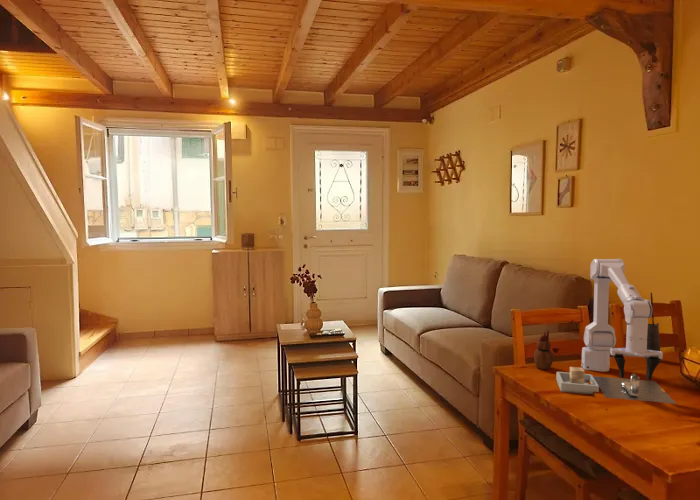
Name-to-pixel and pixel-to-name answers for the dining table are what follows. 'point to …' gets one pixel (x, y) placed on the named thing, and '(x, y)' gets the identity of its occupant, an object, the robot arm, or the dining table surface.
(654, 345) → the butter churn
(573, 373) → the block
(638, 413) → the dining table surface
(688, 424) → the dining table surface
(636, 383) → the crank
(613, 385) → the base plate
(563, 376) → the tray
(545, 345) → the wooden figurine
